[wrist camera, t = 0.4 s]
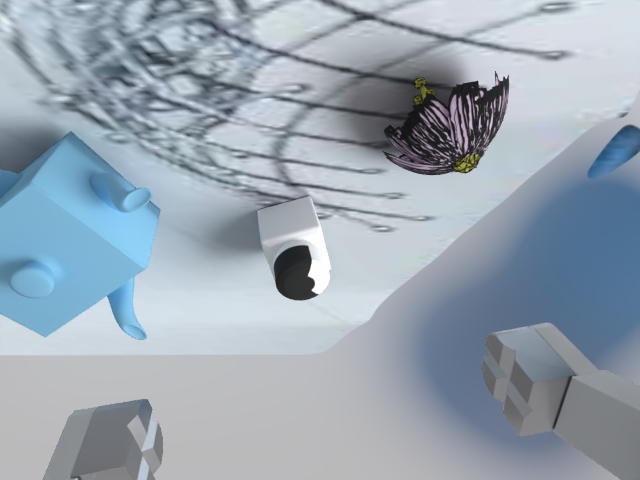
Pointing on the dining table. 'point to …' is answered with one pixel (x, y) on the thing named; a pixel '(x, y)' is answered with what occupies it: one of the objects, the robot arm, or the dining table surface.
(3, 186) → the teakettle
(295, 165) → the dining table surface
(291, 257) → the medicine bottle
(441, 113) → the decorative flower
